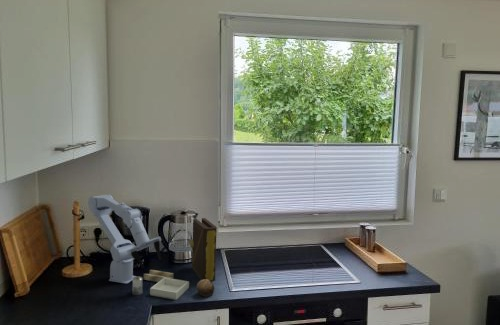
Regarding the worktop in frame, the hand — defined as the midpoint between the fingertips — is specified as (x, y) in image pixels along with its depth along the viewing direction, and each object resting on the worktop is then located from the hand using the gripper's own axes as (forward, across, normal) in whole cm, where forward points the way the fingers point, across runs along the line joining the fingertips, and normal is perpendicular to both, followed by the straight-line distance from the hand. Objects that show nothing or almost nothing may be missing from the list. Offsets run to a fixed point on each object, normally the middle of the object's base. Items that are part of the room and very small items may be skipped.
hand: (152, 263), depth 158 cm
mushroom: (+21, +15, +2) cm, 26 cm away
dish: (+13, +3, +6) cm, 15 cm away
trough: (+4, +2, +18) cm, 19 cm away
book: (+10, +22, +22) cm, 32 cm away
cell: (+8, -10, +7) cm, 14 cm away
